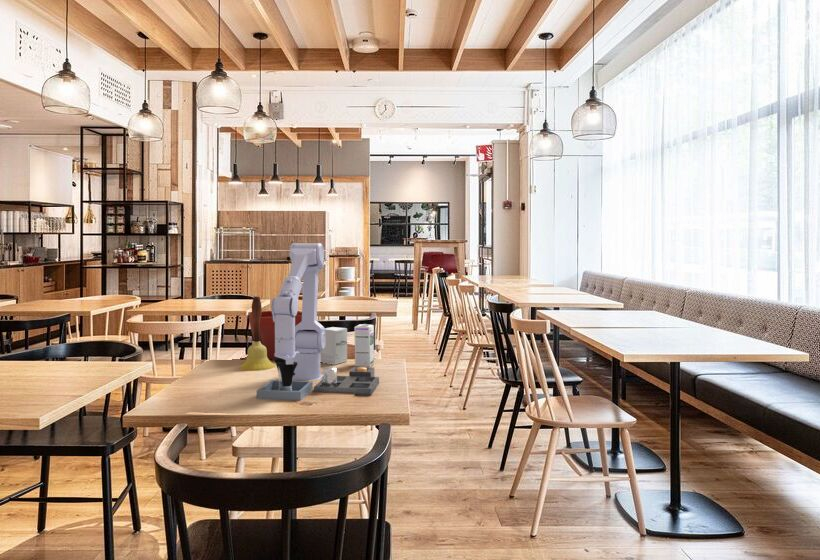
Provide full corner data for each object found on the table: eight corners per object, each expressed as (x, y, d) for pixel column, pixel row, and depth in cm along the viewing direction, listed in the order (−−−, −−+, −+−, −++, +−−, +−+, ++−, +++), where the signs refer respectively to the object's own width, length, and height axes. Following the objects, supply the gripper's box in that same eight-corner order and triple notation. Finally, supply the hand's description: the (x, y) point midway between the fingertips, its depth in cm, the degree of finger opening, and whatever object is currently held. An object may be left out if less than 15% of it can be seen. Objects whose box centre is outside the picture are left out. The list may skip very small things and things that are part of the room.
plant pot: (248, 353, 238) (247, 311, 237) (296, 350, 245) (296, 309, 244) (256, 363, 220) (255, 317, 219) (307, 359, 228) (307, 315, 227)
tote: (256, 401, 170) (256, 390, 169) (271, 389, 182) (271, 380, 182) (300, 402, 168) (300, 391, 168) (312, 391, 181) (312, 381, 181)
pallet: (314, 393, 178) (314, 386, 178) (326, 381, 193) (326, 375, 193) (371, 395, 176) (371, 388, 176) (379, 383, 191) (379, 377, 191)
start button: (356, 378, 196) (356, 369, 195) (358, 375, 199) (358, 366, 199) (366, 378, 195) (365, 369, 195) (367, 376, 198) (367, 367, 198)
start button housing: (349, 380, 194) (349, 371, 194) (353, 375, 201) (353, 367, 201) (370, 381, 193) (370, 372, 193) (374, 376, 200) (374, 367, 200)
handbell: (278, 363, 220) (277, 295, 219) (271, 370, 208) (270, 298, 206) (244, 363, 220) (243, 295, 218) (235, 370, 208) (234, 298, 206)
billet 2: (322, 392, 179) (321, 369, 179) (325, 389, 183) (325, 366, 183) (335, 393, 179) (335, 369, 178) (338, 389, 183) (338, 366, 182)
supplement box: (335, 365, 217) (335, 330, 216) (319, 363, 221) (319, 328, 220) (347, 361, 224) (347, 328, 223) (332, 359, 228) (332, 326, 227)
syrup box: (370, 367, 215) (370, 326, 214) (354, 366, 216) (354, 326, 215) (374, 363, 220) (374, 324, 219) (358, 363, 222) (358, 323, 221)
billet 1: (276, 392, 173) (276, 368, 173) (281, 388, 177) (280, 365, 177) (290, 392, 173) (290, 368, 172) (294, 389, 177) (294, 365, 176)
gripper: (304, 341, 169) (304, 388, 170) (294, 333, 182) (294, 377, 183) (278, 342, 166) (279, 391, 167) (270, 334, 180) (271, 379, 181)
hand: (285, 384), depth 175 cm, fingers closed on billet 1, 4 cm apart
